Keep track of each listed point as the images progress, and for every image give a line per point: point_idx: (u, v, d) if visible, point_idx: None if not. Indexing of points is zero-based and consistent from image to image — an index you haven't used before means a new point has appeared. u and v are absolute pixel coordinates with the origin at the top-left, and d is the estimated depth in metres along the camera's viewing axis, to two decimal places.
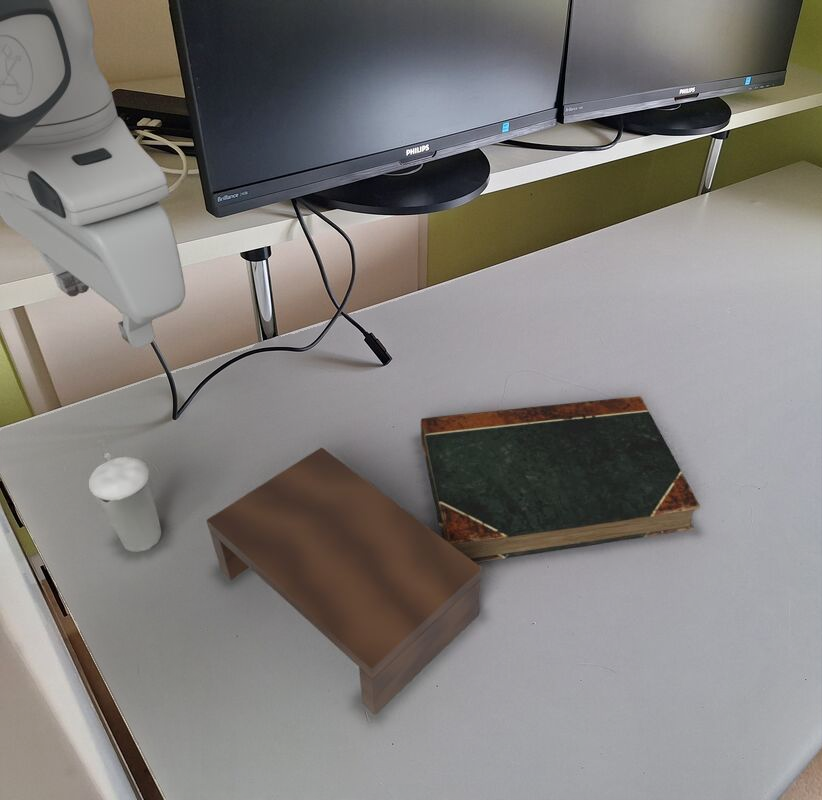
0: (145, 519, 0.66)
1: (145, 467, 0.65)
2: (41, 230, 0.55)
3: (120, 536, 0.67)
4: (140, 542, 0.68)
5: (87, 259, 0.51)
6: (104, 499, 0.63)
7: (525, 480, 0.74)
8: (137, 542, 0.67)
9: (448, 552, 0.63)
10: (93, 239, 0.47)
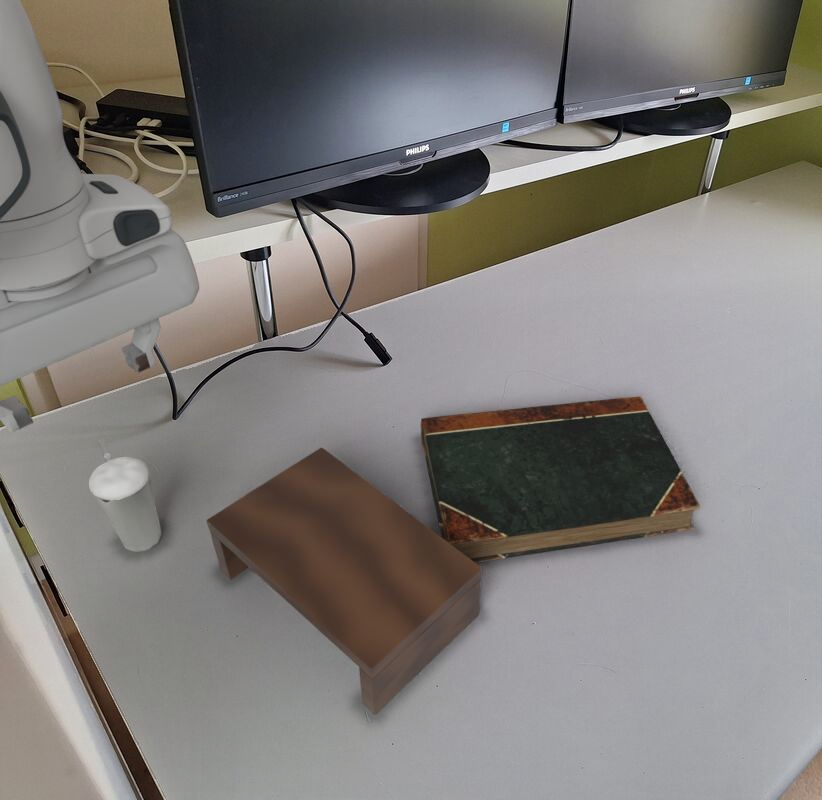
0: (145, 519, 0.66)
1: (145, 467, 0.65)
2: (38, 336, 0.51)
3: (120, 536, 0.67)
4: (140, 542, 0.68)
5: (130, 292, 0.55)
6: (104, 499, 0.63)
7: (525, 480, 0.74)
8: (137, 542, 0.67)
9: (448, 552, 0.63)
10: (174, 235, 0.55)
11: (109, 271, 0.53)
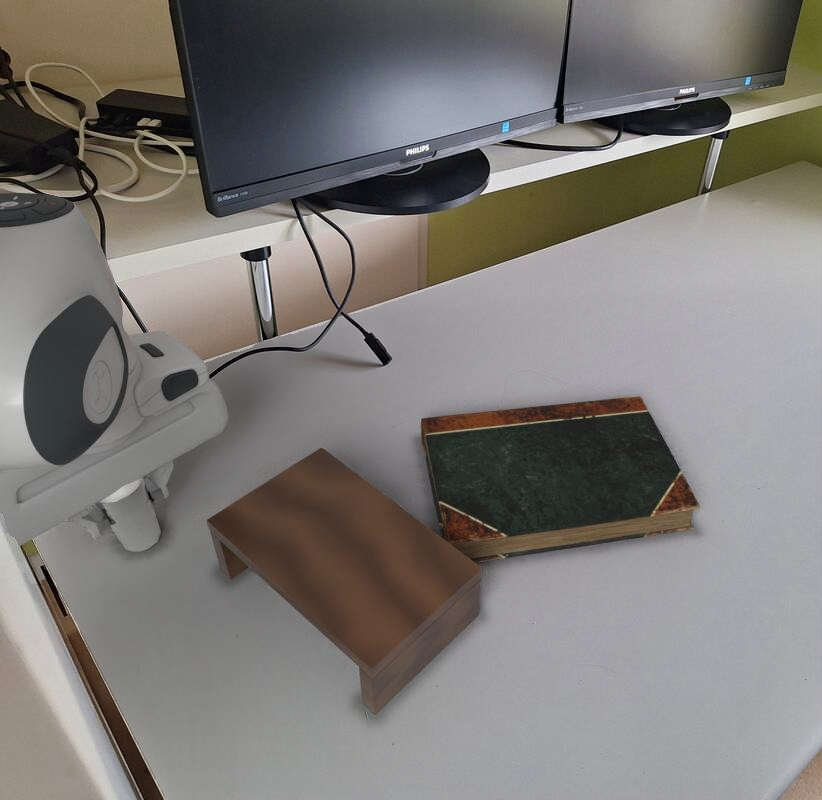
0: (142, 519, 0.66)
1: None
2: (96, 478, 0.60)
3: (119, 537, 0.67)
4: (139, 542, 0.68)
5: (171, 431, 0.64)
6: (99, 501, 0.62)
7: (525, 480, 0.74)
8: (136, 542, 0.67)
9: (448, 552, 0.63)
10: (209, 383, 0.64)
11: (155, 417, 0.62)
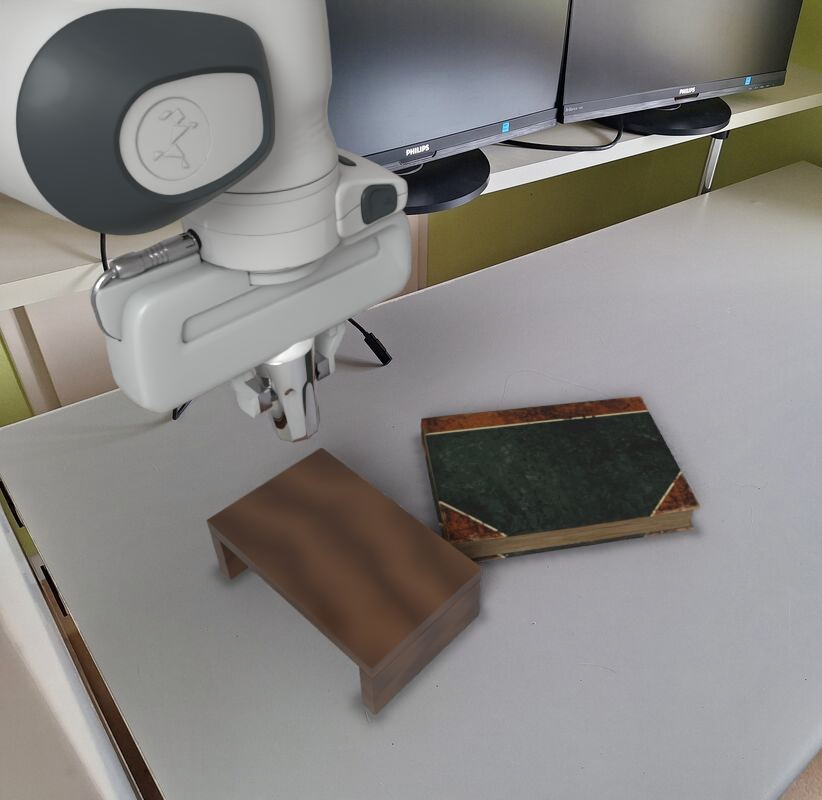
0: (308, 396, 0.52)
1: None
2: (269, 325, 0.46)
3: (276, 420, 0.52)
4: (299, 429, 0.53)
5: (353, 277, 0.49)
6: (264, 363, 0.48)
7: (525, 480, 0.74)
8: (296, 428, 0.53)
9: (448, 552, 0.63)
10: (403, 214, 0.49)
11: (338, 253, 0.48)
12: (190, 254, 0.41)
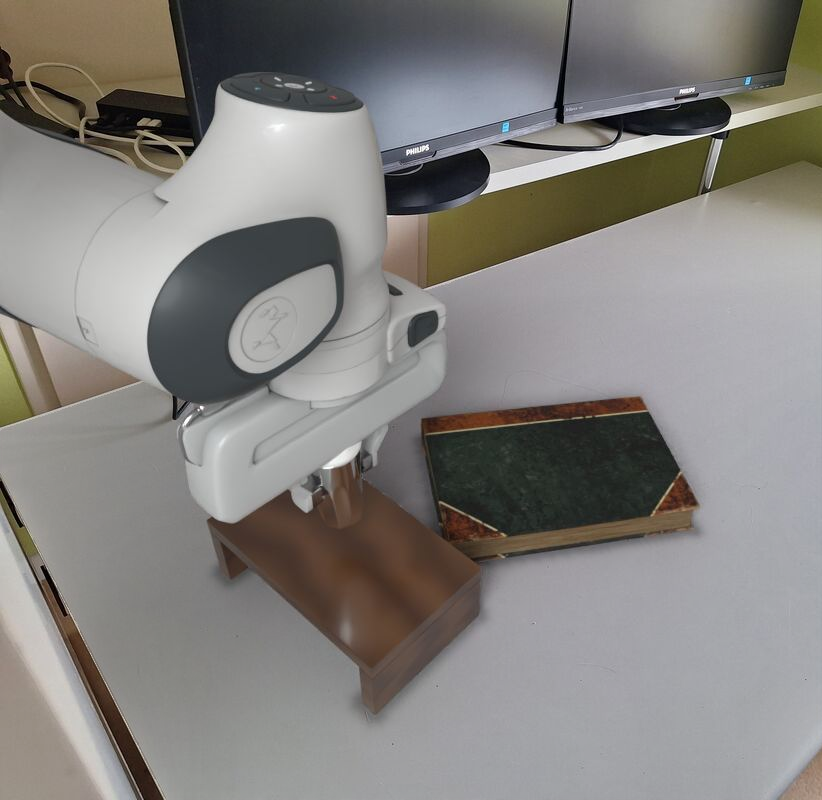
0: (354, 490, 0.57)
1: None
2: (325, 438, 0.51)
3: (325, 511, 0.58)
4: (345, 517, 0.58)
5: (397, 386, 0.55)
6: None
7: (525, 480, 0.74)
8: (343, 517, 0.58)
9: (448, 552, 0.63)
10: (442, 330, 0.55)
11: None
12: (261, 388, 0.46)
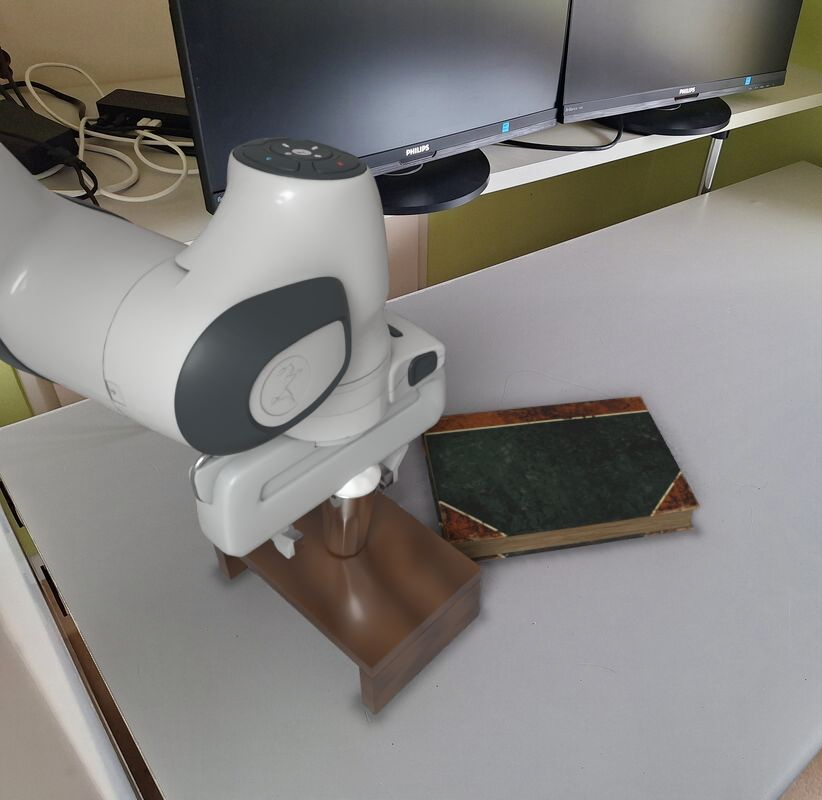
0: (365, 521, 0.60)
1: None
2: (329, 473, 0.53)
3: (332, 538, 0.60)
4: (350, 546, 0.61)
5: (398, 421, 0.57)
6: (339, 496, 0.56)
7: (525, 480, 0.74)
8: (348, 545, 0.60)
9: (448, 552, 0.63)
10: (441, 368, 0.57)
11: None
12: None
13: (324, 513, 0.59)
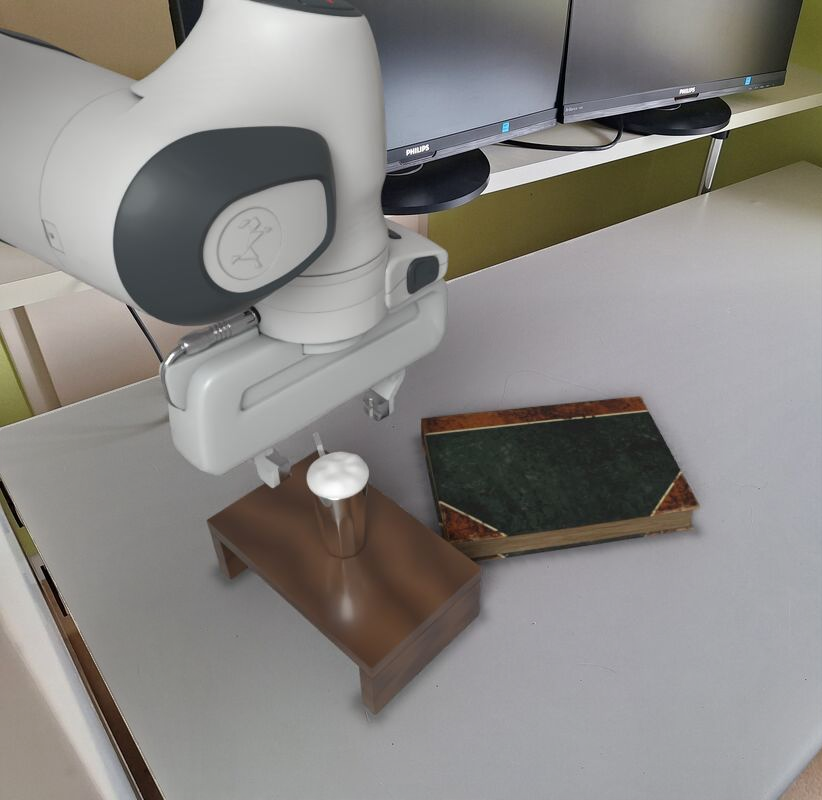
0: (359, 521, 0.59)
1: (364, 462, 0.58)
2: (318, 389, 0.48)
3: (329, 540, 0.60)
4: (349, 547, 0.61)
5: (395, 339, 0.52)
6: (327, 498, 0.56)
7: (525, 480, 0.74)
8: (347, 546, 0.61)
9: (448, 552, 0.63)
10: (442, 280, 0.52)
11: (382, 319, 0.50)
12: (250, 328, 0.43)
13: (318, 516, 0.59)
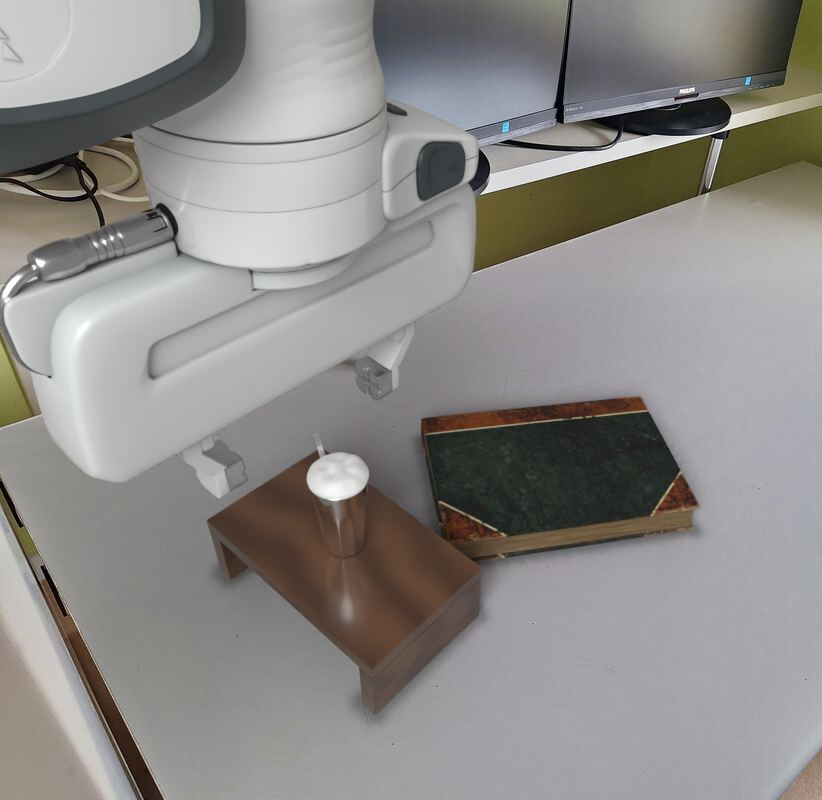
0: (359, 521, 0.59)
1: (364, 463, 0.58)
2: (281, 348, 0.31)
3: (329, 540, 0.60)
4: (349, 547, 0.61)
5: (399, 277, 0.35)
6: (327, 499, 0.56)
7: (525, 480, 0.74)
8: (347, 547, 0.61)
9: (448, 552, 0.63)
10: (469, 189, 0.35)
11: (380, 243, 0.33)
12: (160, 242, 0.26)
13: (318, 517, 0.59)
